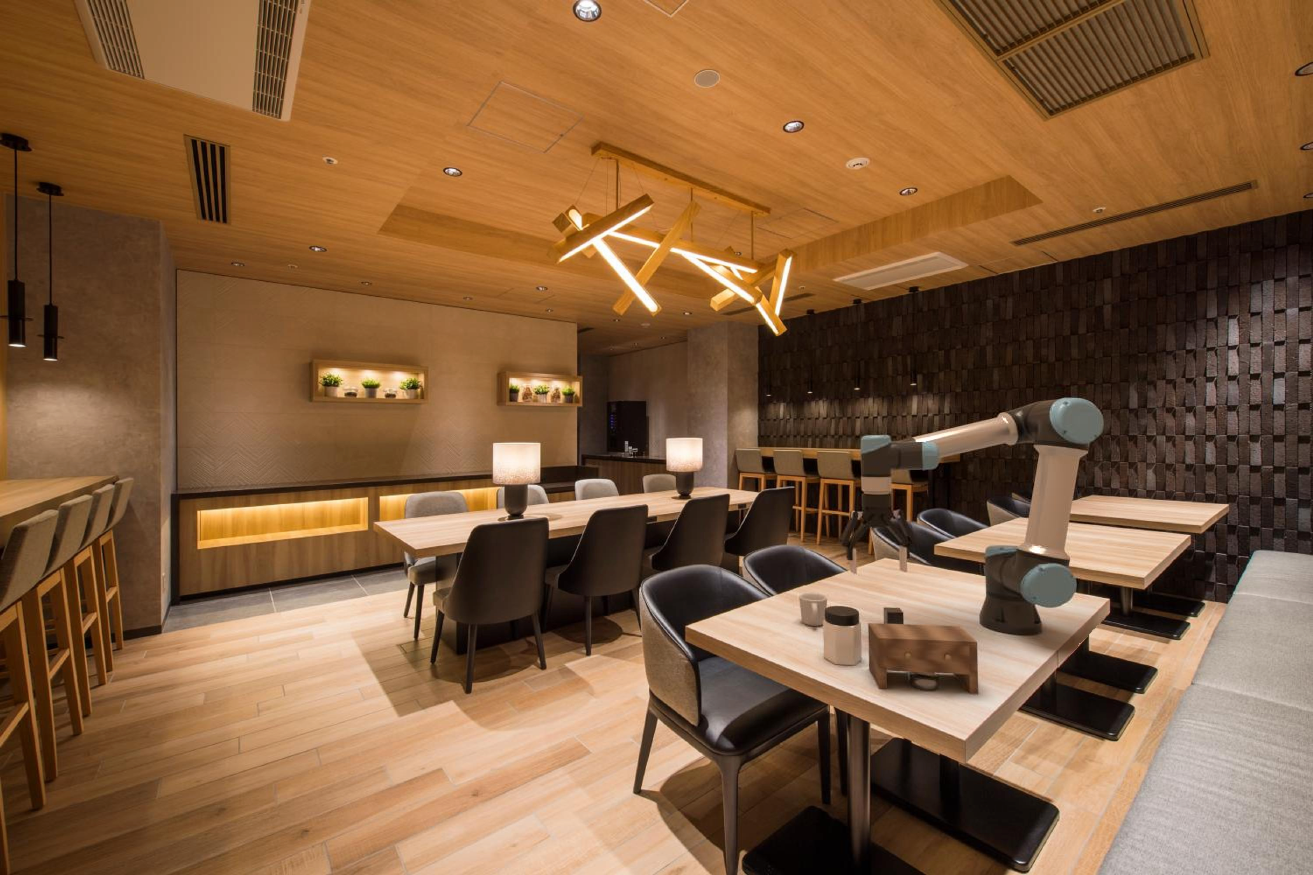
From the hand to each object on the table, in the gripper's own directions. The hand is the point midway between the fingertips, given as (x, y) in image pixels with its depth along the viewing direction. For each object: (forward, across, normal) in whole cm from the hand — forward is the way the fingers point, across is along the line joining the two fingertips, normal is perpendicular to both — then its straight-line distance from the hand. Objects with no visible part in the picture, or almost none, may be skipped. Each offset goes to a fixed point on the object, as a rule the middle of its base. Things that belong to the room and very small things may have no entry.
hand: (878, 571), depth 149 cm
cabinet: (+19, +2, +24) cm, 31 cm away
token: (+19, +2, +26) cm, 33 cm away
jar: (+19, +14, +11) cm, 26 cm away
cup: (+19, +13, -15) cm, 27 cm away
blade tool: (+19, -1, +9) cm, 21 cm away
